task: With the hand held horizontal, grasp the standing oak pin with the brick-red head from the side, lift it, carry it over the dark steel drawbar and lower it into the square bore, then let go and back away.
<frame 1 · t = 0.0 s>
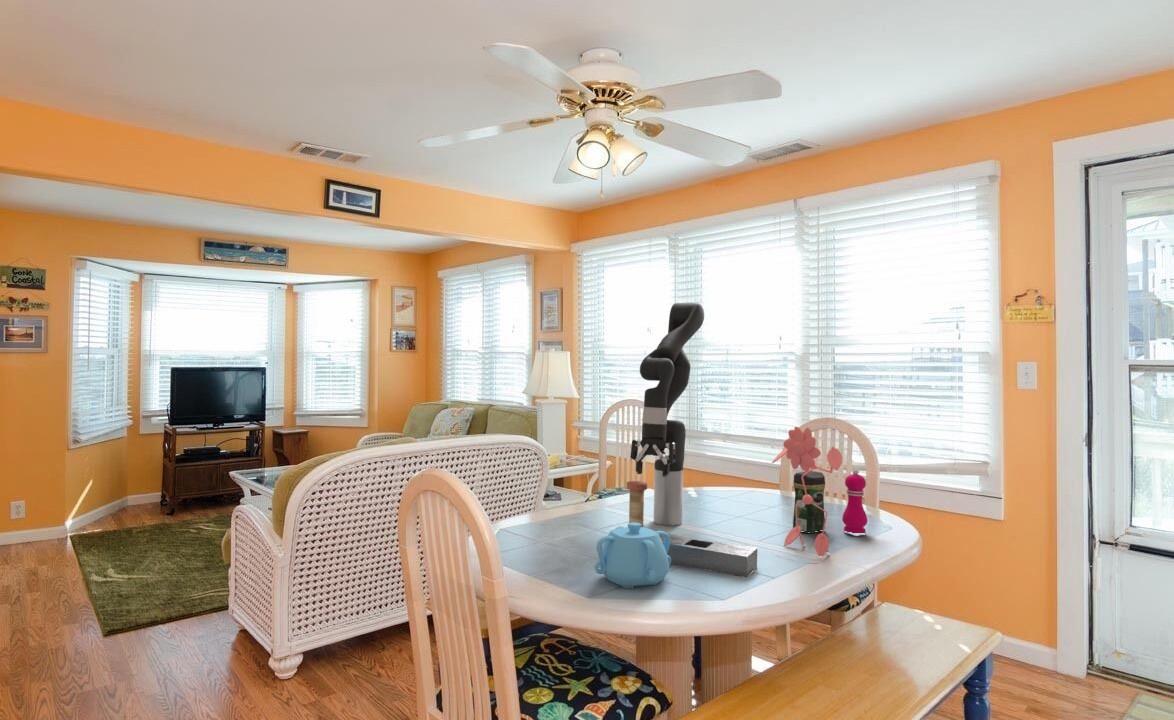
hand: (652, 475, 202), 17 cm above the table, tool pointing down, fingers open, 8 cm apart
decorative pot: (633, 581, 155), on the table
steel drawbar: (698, 562, 170), on the table
coffee jar: (808, 531, 207), on the table
oak pin: (635, 547, 184), on the table
pepper mill: (854, 534, 204), on the table
figurine: (798, 554, 181), on the table
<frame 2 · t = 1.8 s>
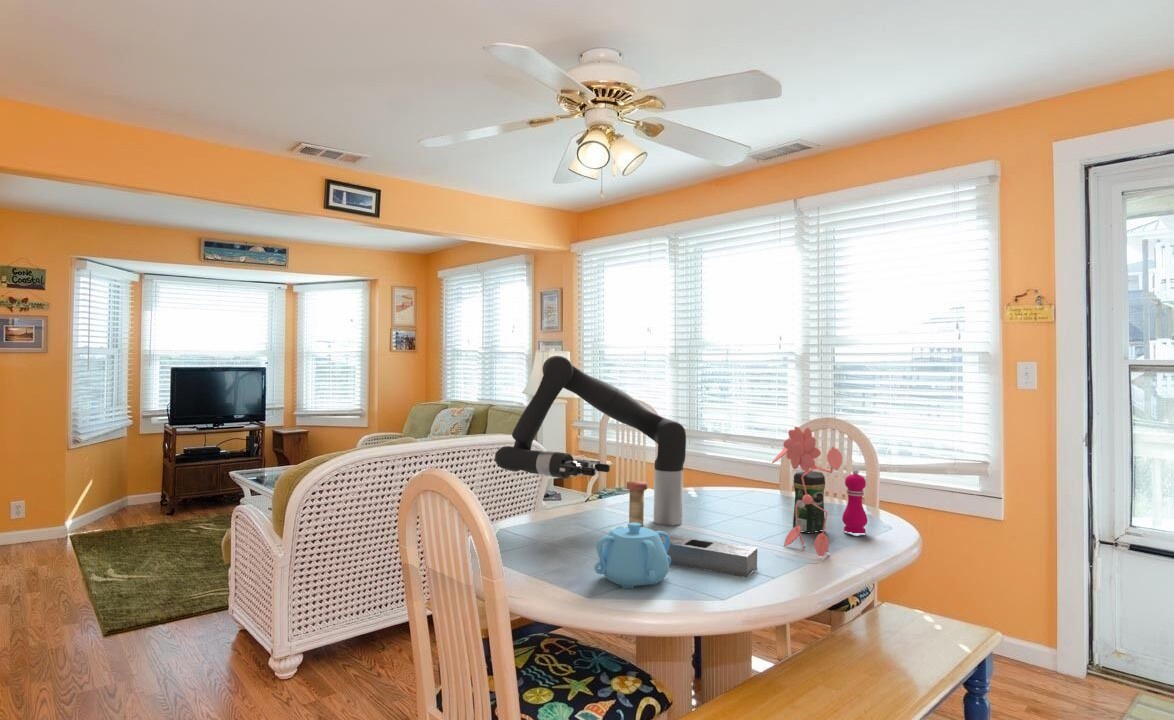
hand: (602, 470, 189), 20 cm above the table, tool horizontal, fingers open, 8 cm apart
nothing on the table moved.
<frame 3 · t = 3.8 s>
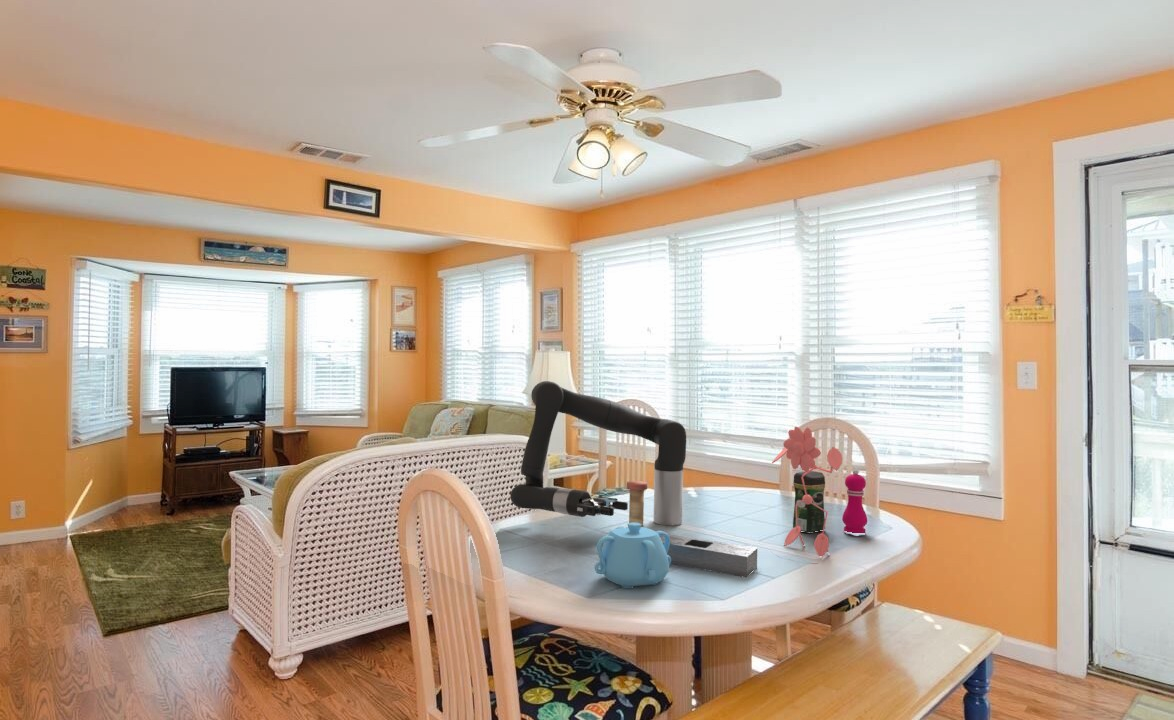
hand: (620, 509, 186), 10 cm above the table, tool horizontal, fingers open, 8 cm apart
nothing on the table moved.
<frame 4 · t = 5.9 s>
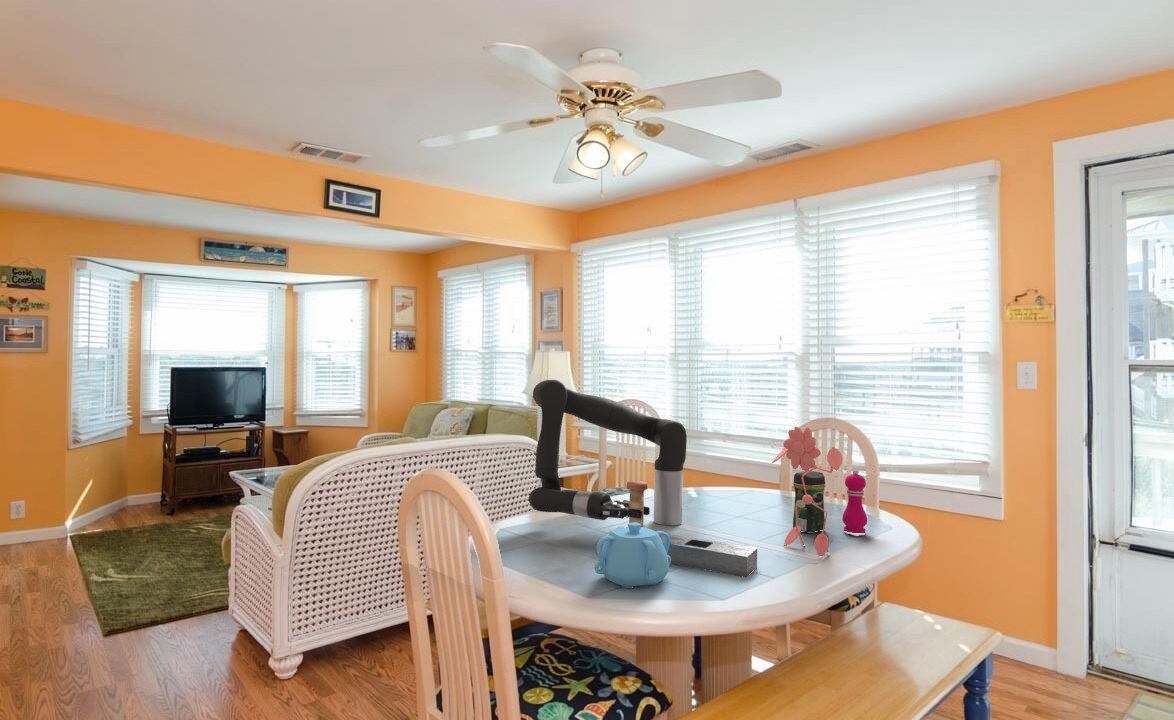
hand: (645, 512, 183), 10 cm above the table, tool horizontal, fingers closed on oak pin, 4 cm apart
oak pin: (635, 547, 184), on the table, touching gripper
everything else where it was.
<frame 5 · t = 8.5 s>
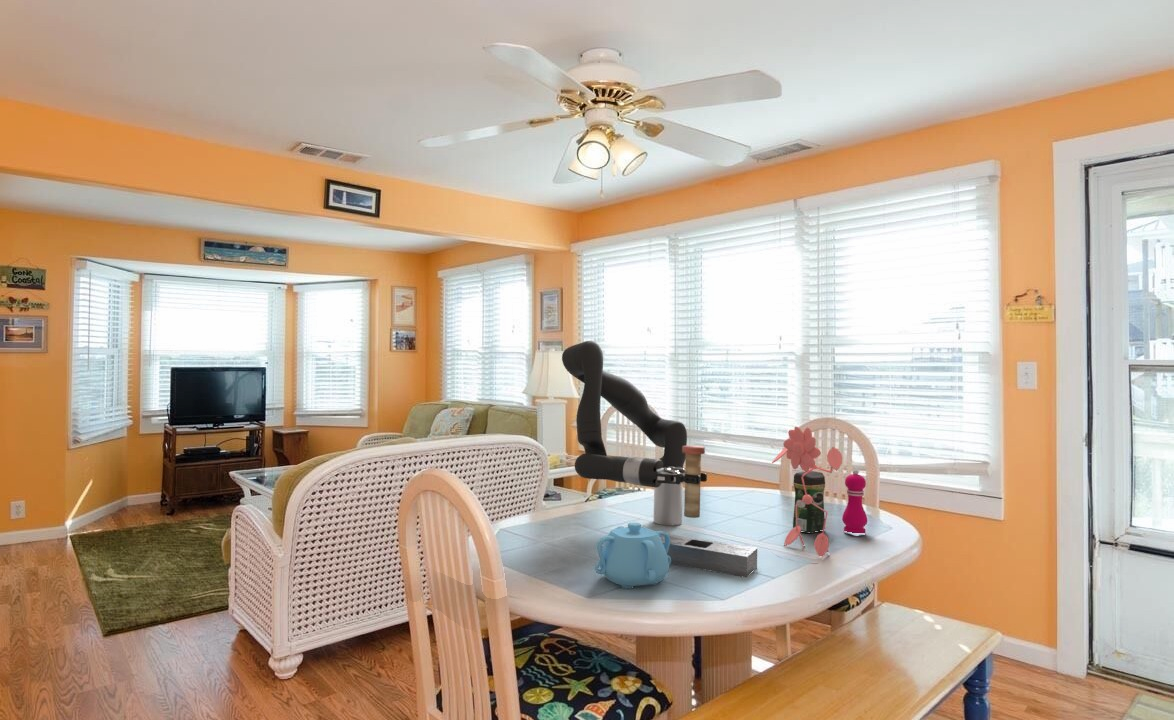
hand: (702, 478, 170), 22 cm above the table, tool horizontal, fingers closed on oak pin, 4 cm apart
oak pin: (691, 516, 171), point 12 cm above the table, touching gripper
everything else where it was.
when the fingers open (12 cm above the table, at t = 11.5 s): oak pin drops 2 cm, resting in steel drawbar.
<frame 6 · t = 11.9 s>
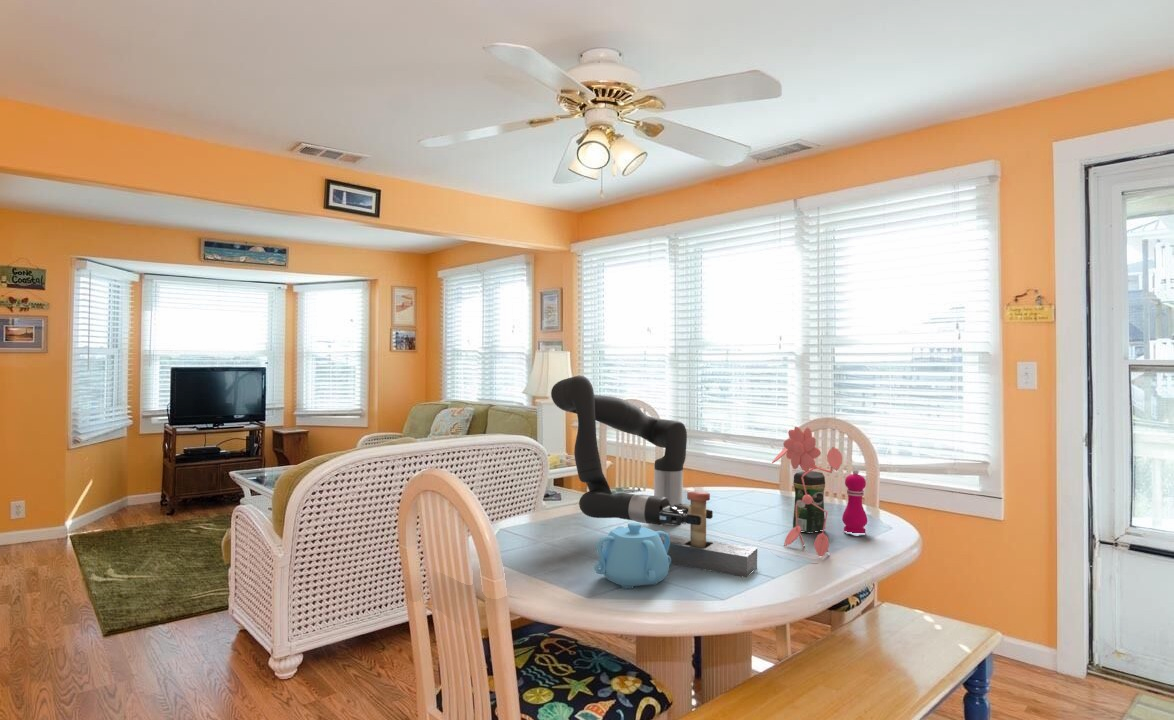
hand: (706, 517, 169), 12 cm above the table, tool horizontal, fingers open, 8 cm apart
oak pin: (698, 562, 170), resting in steel drawbar
everything else where it was.
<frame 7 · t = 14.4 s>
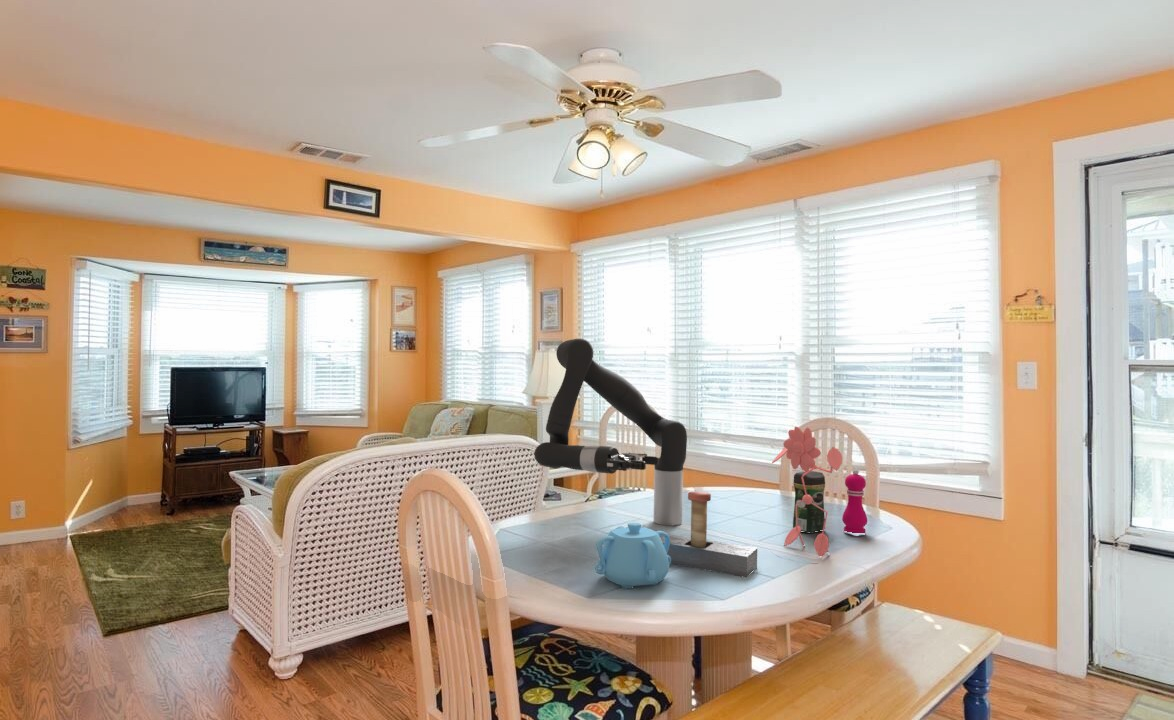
hand: (651, 463, 179), 24 cm above the table, tool horizontal, fingers open, 8 cm apart
nothing on the table moved.
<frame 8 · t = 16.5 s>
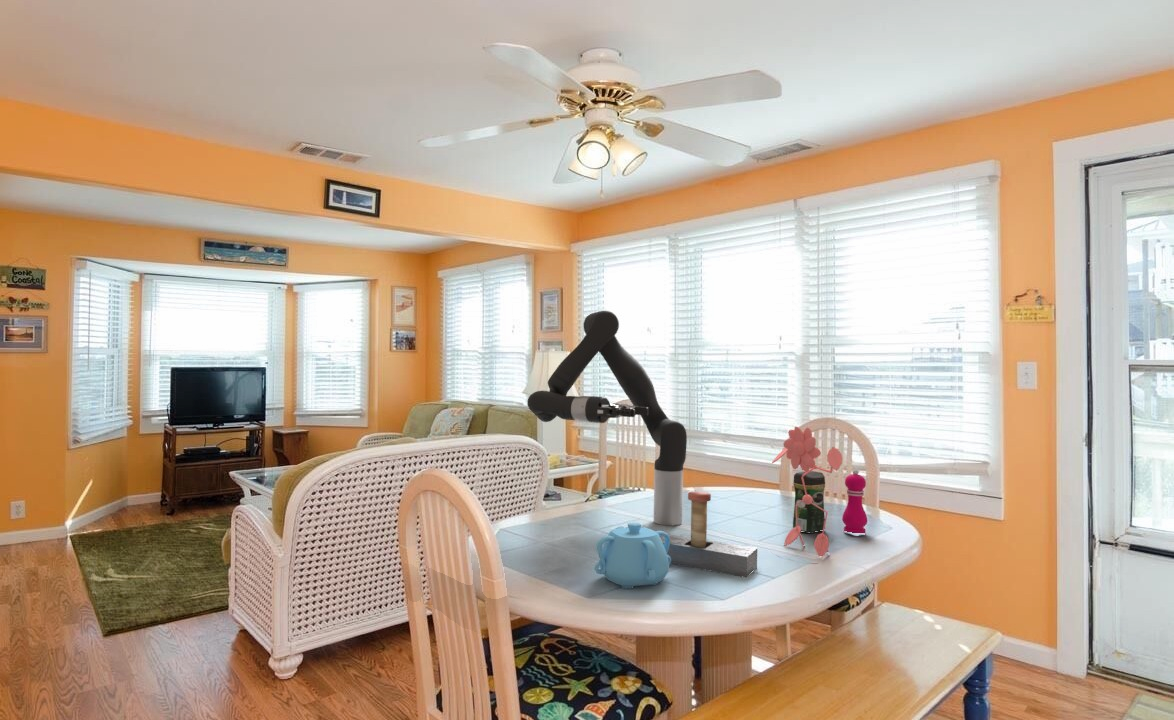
hand: (641, 412, 181), 38 cm above the table, tool horizontal, fingers open, 8 cm apart
nothing on the table moved.
at the end: oak pin 0.1 cm off-centre on the steel drawbar, point 0.0 cm above the steel drawbar's base; oak pin tilted 0°; the gripper is holding nothing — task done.
